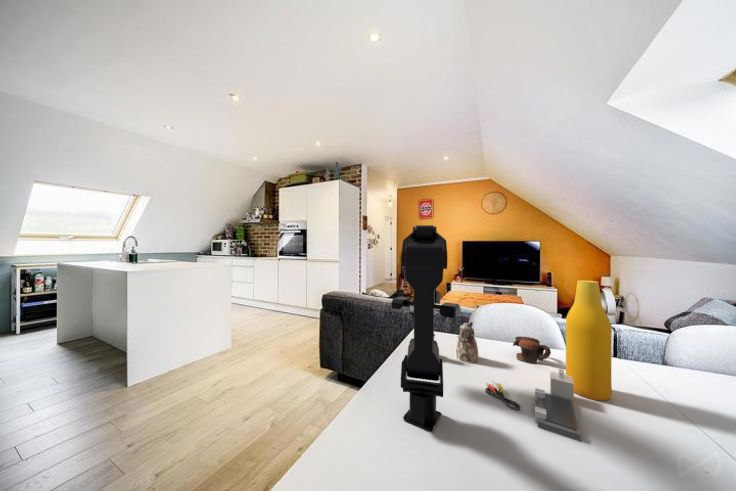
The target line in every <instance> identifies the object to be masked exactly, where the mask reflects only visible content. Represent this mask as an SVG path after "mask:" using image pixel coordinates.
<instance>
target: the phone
mask: <svg viewBox="0 0 736 491" xmlns="http://www.w3.org/2000/svg"><path fill="white" fill-rule="evenodd" d="M534 391H535V392H534V402H536V403H537V406H536V405H535V406H534V422H535V423H536V424H537V428H540V429H543V430H545V431H548V432H551V433H554V434H557V435H561V436H564V437H567V438H569V439H572V440H574V441H575V440H576V441H579V442H582V433H581V429H580V426H579V424H580V423H579V421H578V417H577V413H576V409H575V404H573V400H571V399H567V398H563V397H559V396H556V395H552V394H550V393H547V392H546V390H545V389H541V388H538V387H535V388H534Z"/></svg>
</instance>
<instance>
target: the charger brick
mask: <svg viewBox="0 0 736 491" xmlns="http://www.w3.org/2000/svg"><path fill="white" fill-rule="evenodd" d="M549 379H550V381H549V386H550V387H549V388H550V389H549V392H550V393H549V394H552V395H556V396H559V397H563V398H567V399H571V400H573V404H574V400H575V399H574V394H575V393H574V383H573V380H572V376H568V375H566V374H565V370H564V369H559V368H558V372H555V371H550V373H549ZM574 405H575V404H574Z"/></svg>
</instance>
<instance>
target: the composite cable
mask: <svg viewBox="0 0 736 491" xmlns="http://www.w3.org/2000/svg"><path fill="white" fill-rule="evenodd" d="M491 383H492V384H490V383H488V382H485V385H486V388H485V389H484V392H485V394H487V395H489V396H491V397H494V398H495V399H498V400H499V401H501V402H502V403H503V404H505V405H506V406H507V407H508V408H509V409H511V410H514V411H517V412H518V411H521V406H520V404H519V403H517V401H514V400H511V399H509V398H506V397H505V393H504V388H503V386H502V384H501V383H499V382H495V381H494V380H492V381H491Z"/></svg>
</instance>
